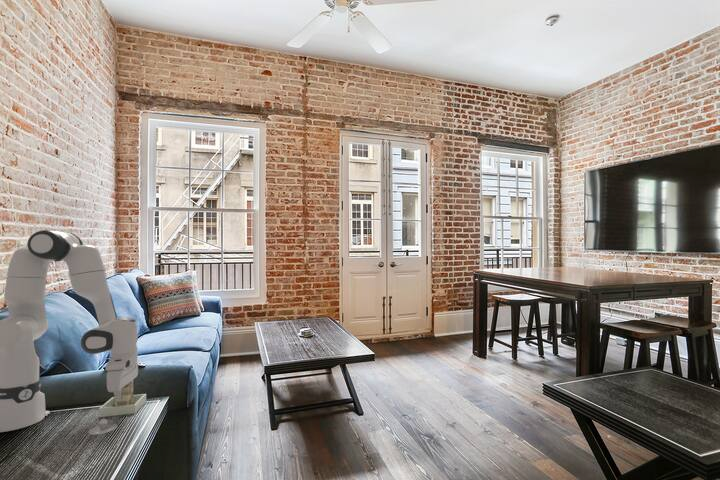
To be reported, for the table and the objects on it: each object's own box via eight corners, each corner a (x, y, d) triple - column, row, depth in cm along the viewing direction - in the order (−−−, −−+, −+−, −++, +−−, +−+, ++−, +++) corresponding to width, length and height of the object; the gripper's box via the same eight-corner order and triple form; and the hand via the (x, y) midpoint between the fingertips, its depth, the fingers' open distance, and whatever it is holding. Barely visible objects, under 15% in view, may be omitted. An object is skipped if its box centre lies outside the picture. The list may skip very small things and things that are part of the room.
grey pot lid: (83, 434, 121) (83, 421, 121) (109, 424, 128) (109, 412, 128) (96, 439, 117) (96, 426, 118) (122, 429, 124) (122, 416, 125)
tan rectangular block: (120, 408, 141) (120, 384, 142) (132, 407, 142) (133, 383, 143) (115, 413, 137) (115, 388, 138) (128, 411, 138) (128, 387, 139)
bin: (98, 419, 133) (98, 408, 133) (112, 407, 144) (112, 397, 145) (135, 415, 135) (135, 404, 136) (146, 403, 147) (146, 393, 147)
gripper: (125, 353, 150) (125, 388, 150) (103, 367, 131) (102, 407, 130) (142, 352, 152) (142, 386, 151) (122, 365, 132) (122, 405, 131)
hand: (123, 396), depth 140 cm, fingers open, 8 cm apart
